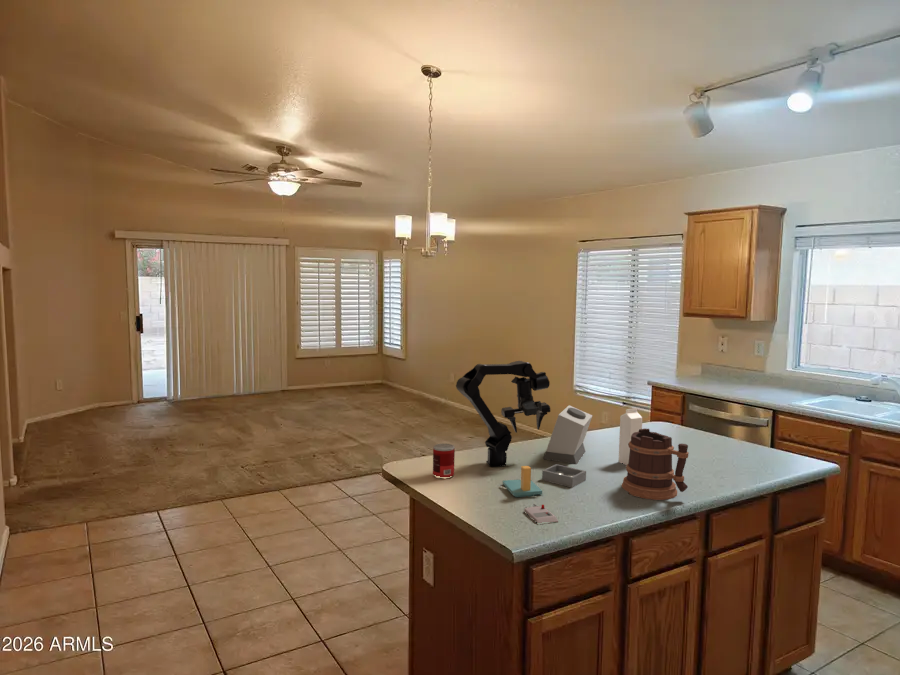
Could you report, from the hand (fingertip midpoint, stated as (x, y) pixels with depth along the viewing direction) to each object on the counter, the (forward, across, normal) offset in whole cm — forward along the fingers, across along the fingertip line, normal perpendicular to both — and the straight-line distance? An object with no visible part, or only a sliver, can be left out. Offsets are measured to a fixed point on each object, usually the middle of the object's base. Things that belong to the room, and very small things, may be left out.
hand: (527, 430), depth 229 cm
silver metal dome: (+11, +6, -28) cm, 31 cm away
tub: (+12, +4, -26) cm, 29 cm away
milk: (+16, +38, -9) cm, 43 cm away
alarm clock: (+14, +17, +3) cm, 23 cm away
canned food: (+8, -37, -15) cm, 41 cm away
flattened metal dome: (+11, +3, -25) cm, 27 cm away
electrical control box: (+10, -14, -55) cm, 57 cm away
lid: (+10, -13, -34) cm, 38 cm away
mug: (+15, +32, -40) cm, 53 cm away
